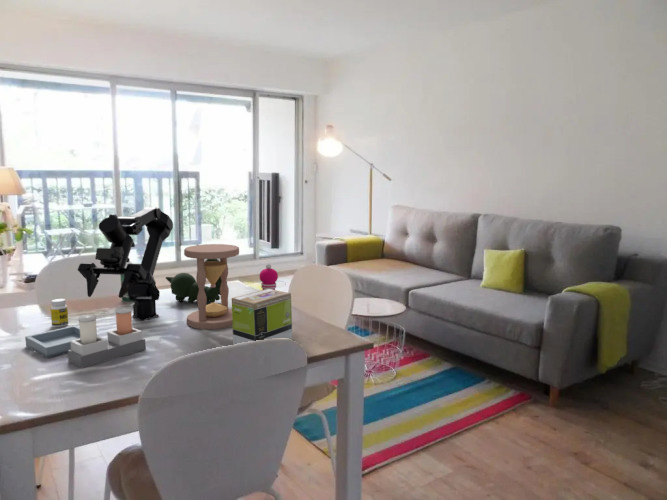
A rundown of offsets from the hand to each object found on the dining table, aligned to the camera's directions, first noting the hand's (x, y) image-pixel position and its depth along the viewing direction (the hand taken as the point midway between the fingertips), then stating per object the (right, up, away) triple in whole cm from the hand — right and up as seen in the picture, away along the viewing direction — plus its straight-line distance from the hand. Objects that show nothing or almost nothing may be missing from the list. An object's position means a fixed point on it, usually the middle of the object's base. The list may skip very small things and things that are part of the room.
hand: (104, 296), depth 147 cm
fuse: (+2, -13, -12) cm, 18 cm away
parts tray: (-11, -14, -1) cm, 18 cm away
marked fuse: (+8, -12, -4) cm, 15 cm away
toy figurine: (+14, -7, +48) cm, 50 cm away
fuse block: (+5, -15, -8) cm, 18 cm away
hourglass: (+26, -11, +24) cm, 37 cm away
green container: (-11, -6, +50) cm, 52 cm away
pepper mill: (+45, -11, +23) cm, 51 cm away
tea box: (+45, -14, +3) cm, 48 cm away
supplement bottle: (-22, -11, +18) cm, 31 cm away
